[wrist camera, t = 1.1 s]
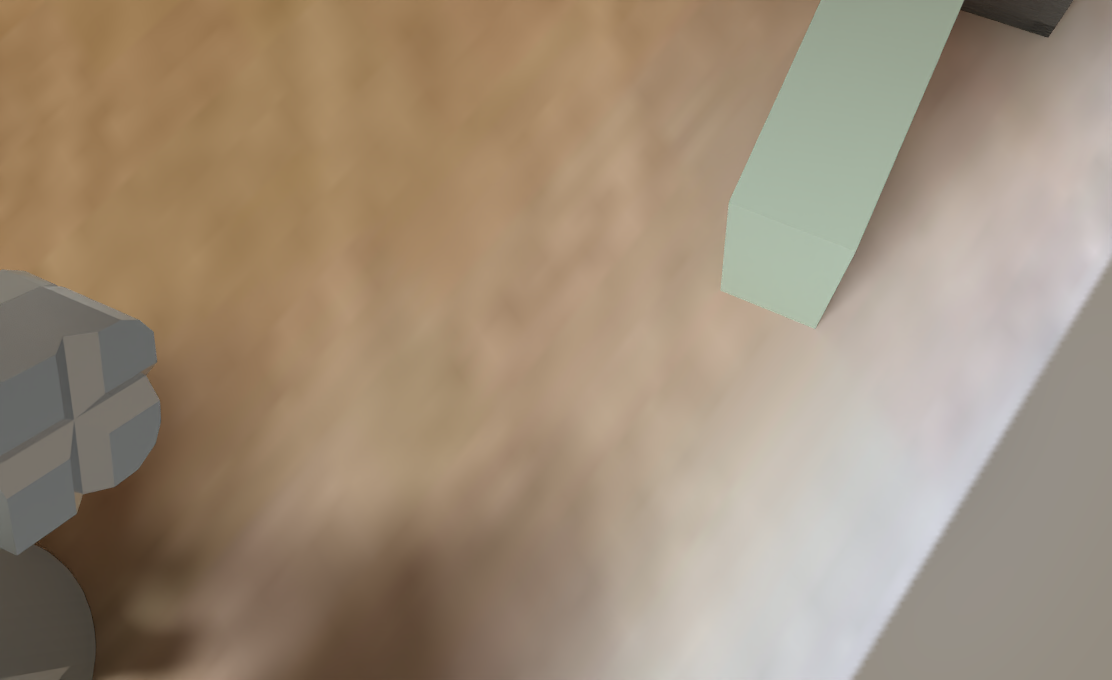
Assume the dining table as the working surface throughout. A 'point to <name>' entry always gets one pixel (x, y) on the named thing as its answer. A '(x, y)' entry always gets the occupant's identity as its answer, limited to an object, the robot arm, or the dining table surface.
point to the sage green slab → (829, 150)
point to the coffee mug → (43, 620)
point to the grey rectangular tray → (1021, 13)
